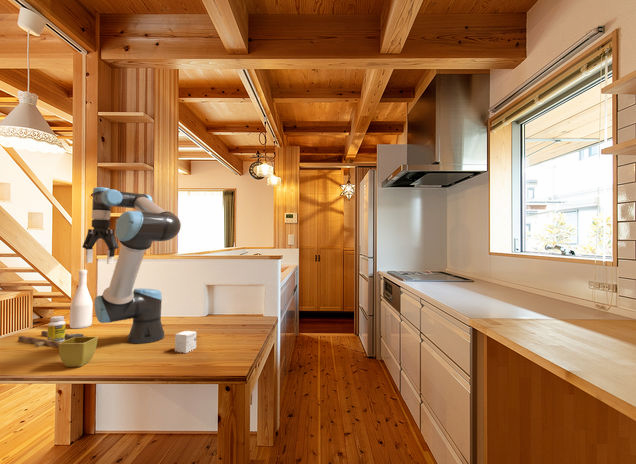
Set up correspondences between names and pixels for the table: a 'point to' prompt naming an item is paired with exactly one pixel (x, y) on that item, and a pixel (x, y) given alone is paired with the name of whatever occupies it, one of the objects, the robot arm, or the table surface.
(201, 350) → the table surface
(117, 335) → the table surface
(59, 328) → the pill bottle
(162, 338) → the robot arm
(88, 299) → the wine bottle
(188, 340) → the skincare box
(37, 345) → the forked driftwood branch
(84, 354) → the flower pot
